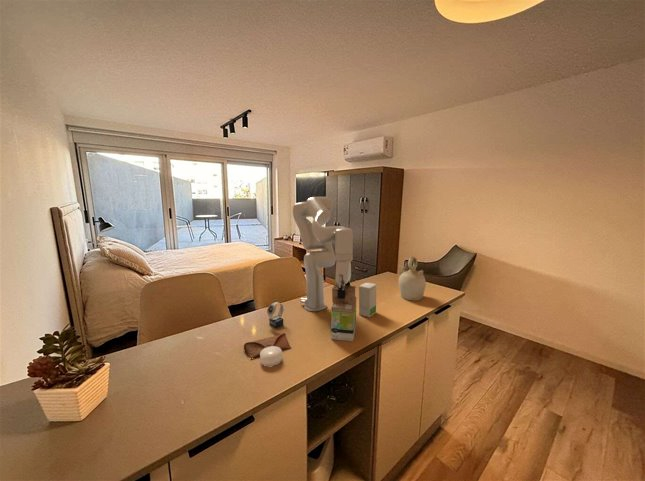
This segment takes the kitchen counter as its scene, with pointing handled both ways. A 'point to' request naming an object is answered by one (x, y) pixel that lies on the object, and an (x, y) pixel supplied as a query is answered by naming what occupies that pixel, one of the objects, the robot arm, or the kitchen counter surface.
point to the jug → (412, 282)
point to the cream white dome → (271, 356)
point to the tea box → (343, 321)
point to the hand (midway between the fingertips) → (344, 294)
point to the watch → (275, 320)
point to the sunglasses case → (266, 345)
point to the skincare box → (367, 299)
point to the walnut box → (348, 295)
